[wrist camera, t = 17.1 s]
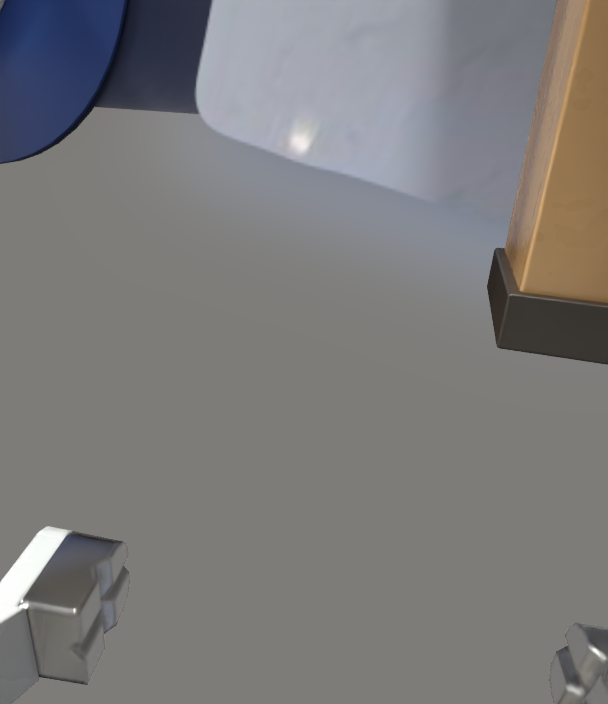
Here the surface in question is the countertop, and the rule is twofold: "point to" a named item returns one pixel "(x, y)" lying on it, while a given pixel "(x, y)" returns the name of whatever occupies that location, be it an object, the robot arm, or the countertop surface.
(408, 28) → the countertop surface
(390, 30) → the countertop surface
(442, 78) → the countertop surface
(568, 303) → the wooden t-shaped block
